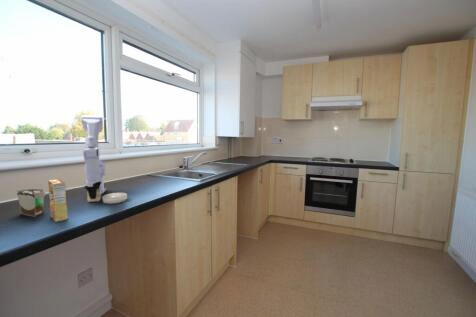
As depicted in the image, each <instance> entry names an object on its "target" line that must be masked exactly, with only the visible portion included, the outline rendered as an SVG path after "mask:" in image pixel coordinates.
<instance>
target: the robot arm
mask: <svg viewBox="0 0 476 317" xmlns="http://www.w3.org/2000/svg"><path fill="white" fill-rule="evenodd" d="M103 124H104V122H103V117H102V116H101V115H99V116H98V115H95V116H94V115H84V114H83V115H82V116H81V125H82V129H83V132H86V133H87V136H86V137H85V139H84V140H85V142H84V149H83V150H82V151H83V158H84V163H85V164H84V170H83V171H84V177H85V178H86V180H85V181H86V182H85V183H86V184H87V185H85V186H84V188H85V190H86V191H87V192H88V193H89V196H90V199H96V192H97V189H101V194H104V192H106V191H107V188H105V186H104V184H105V183H104V182H105V181H104V177H105V176H106V165H105V163H104V162H103V161H101V159H100V149H99V135H100V133H101V132H103V129H104V128H103V127H104V125H103Z"/></svg>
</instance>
